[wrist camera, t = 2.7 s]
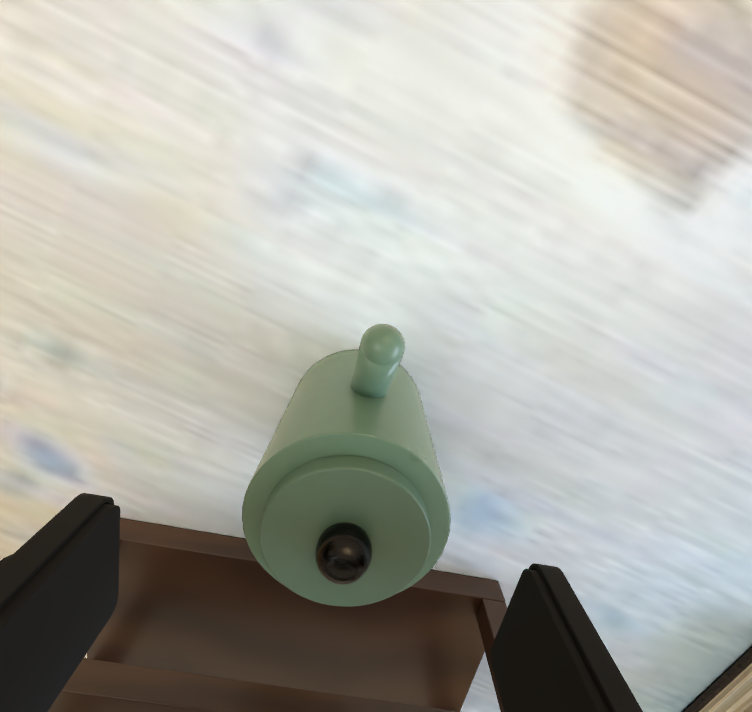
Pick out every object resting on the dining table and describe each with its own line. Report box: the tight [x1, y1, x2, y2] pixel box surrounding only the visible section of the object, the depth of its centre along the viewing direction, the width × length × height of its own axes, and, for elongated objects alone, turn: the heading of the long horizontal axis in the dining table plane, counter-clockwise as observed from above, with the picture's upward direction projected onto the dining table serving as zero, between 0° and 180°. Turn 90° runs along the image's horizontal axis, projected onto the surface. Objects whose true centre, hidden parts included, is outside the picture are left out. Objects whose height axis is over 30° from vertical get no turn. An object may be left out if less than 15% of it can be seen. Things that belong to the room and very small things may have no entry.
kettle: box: [242, 324, 451, 606], centre depth 13 cm, size 8×6×9 cm
